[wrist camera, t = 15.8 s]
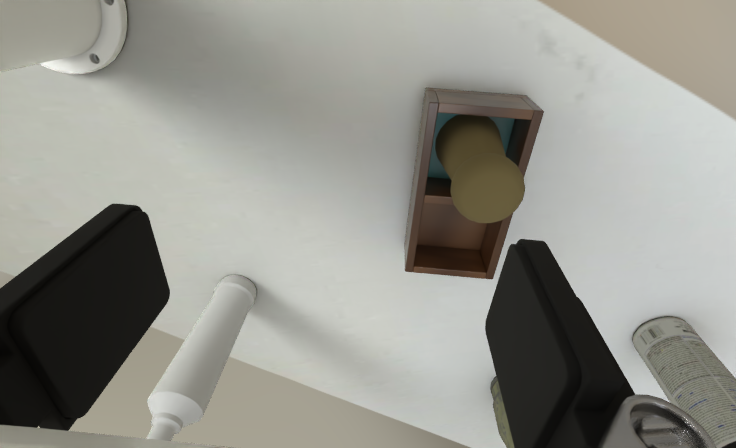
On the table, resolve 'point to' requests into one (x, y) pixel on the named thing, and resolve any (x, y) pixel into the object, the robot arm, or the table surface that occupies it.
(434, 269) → the caddy
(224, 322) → the bottle
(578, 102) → the table surface
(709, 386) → the spray can
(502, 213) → the cork
